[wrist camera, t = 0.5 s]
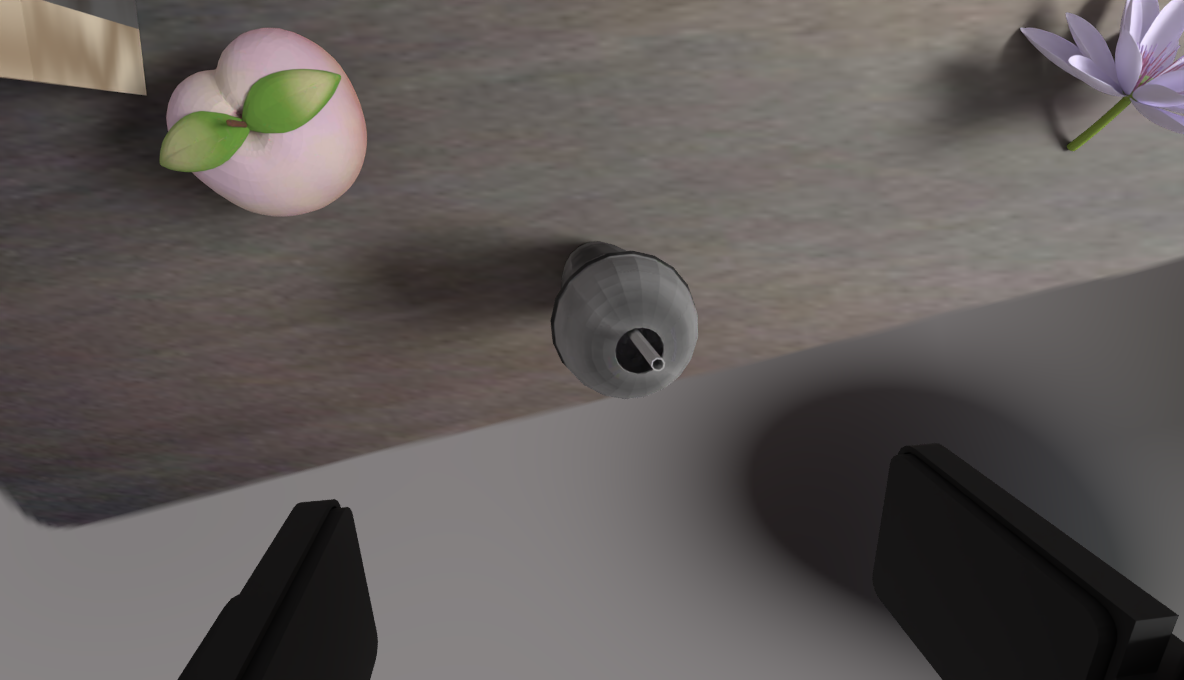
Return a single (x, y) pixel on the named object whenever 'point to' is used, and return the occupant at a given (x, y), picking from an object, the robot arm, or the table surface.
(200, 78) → the decorative fruit
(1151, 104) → the water lily
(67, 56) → the band block
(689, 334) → the beverage cup
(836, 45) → the table surface
